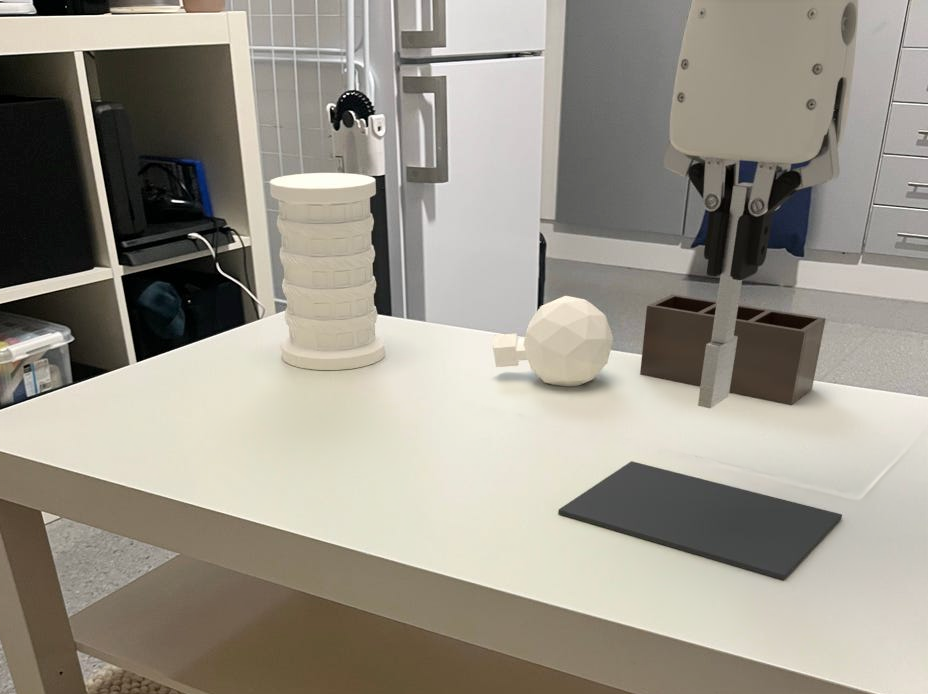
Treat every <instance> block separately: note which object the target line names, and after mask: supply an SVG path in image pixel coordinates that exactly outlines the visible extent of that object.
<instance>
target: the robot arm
mask: <svg viewBox="0 0 928 694" xmlns="http://www.w3.org/2000/svg"><path fill="white" fill-rule="evenodd" d="M690 4H691V5H690V7H689V12H688V16H687V20H686V23H685V27H684V33H683V38H682V42H681V46H680V47H681V48H680V52H679V56H678V62H677V69H676V72H675V80H674V86H673V93H672V99H671V108H670V117H669V141H668V144H667V146H666V149H665V152H664V155H663V156H662V165H663V167H664V168H666V170H669V171H671V172H673V173H675V174H676V175H679V176H681V177H683V178H687V179H688V180H690V182H691V183H692V185H693V186H694V188H695V189H696V191H697V192H698V194H699V195H700V197H701V199H702V205H703V208H704V209H705V210H706V211H708V219H707V227H706V236H705V242H704V250H703V257H704V259H705V260H707V266H706V275H707V276H708V277H714V278H715V277H718V276H721V271H722V264H723V256H724V249H725V242H726V235H727V228H728V221H729V211H730V204H731V197H732V190H733V186H734V185H737V184H739V175H740V174H739V173H740V161H746V162H757V164H756V168H755V174H754V178H753V181H752V183H753V187H752V191H751V196H750V200H749V204H747V209H746V214H744V215H741V216H740V217H739V219H738V223H737V230H736V237H735V244H734V251H733V258H732V265H731V272H730V276H731V277H732V278H733V279H734V280H742V281H743V280H745V279H747V278H749V277H751V276H754V275H755V274H757V272H758V270H759V267H761V266H762V265H764V264H765V260H766V258H767V253H768V246H769V239H770V234H771V229H772V228H771V227H772V221H773V217H774V211H777V210H778V209H780V207H782V205H783V204H784V203H785V202H787V200H789V199H790V198H791V197H792V196H793V195H795V194H796V193H797V192H798V191H799V190H802V189H806V188H810V187H815V186H819V185H824V184H827V183H829V182H833V181H835V180H836V179H837V178H838V177H839V176H840V161H839V160H840V159H839V151H838V149H839V147H840V146H841V145H842V141H843V139H844V134H845V131H846V126H847V121H848V114H849V108H850V100H851V91H852V84H853V83H852V82H853V75H854V66H855V57H856V55H855V54H856V44H857V35H858V34H857V32H858V20H859V18H858V17H859V0H692V1H691V3H690ZM806 162H808V164H807V165H805V166H801V167H797V168H793V169H791V167H792V165H793V164H801V163H806Z"/></svg>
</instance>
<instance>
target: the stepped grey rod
mask: <svg viewBox="0 0 928 694" xmlns="http://www.w3.org/2000/svg"><path fill="white" fill-rule="evenodd" d="M752 187H753V182H740V183H738V184H737V185H734V186H733V190H732V197H731V204H730V211H729V221H728V228H727V235H726V242H725V249H724V256H723V264H722V271H721V274H720V275H719V276H720V277H719V283H718V292H717V297H716V301H717V304H716V311H715V318H714V325H713V332H712V340H711V342H710V343H708V344H706V350H705V357H704V364H703V372H702V379H701V386H700V387H699V395H698V401H697V406H698V407H702V408H707V409H712V408H713V407H715V406H716V405H718V404H720V403H722V402H723V401H724V400H726V399H727V398H729V396H730V393H729V391H730V384H731V378H732V371H733V365H734V358H735V352H736V345H737V339H738V336H734V330H735V324H736V317H737V311H738V305H740V304H739V303H740V296H741V290H742V283H743V280H734V279H733V278H732V277H731V276H730V272H731V265H732V258H733V251H734V244H735V237H736V230H737V223H738V219H739V217H740V216H741V215H744V214H746V209H747V204H749V200H750V196H751V191H752Z"/></svg>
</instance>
